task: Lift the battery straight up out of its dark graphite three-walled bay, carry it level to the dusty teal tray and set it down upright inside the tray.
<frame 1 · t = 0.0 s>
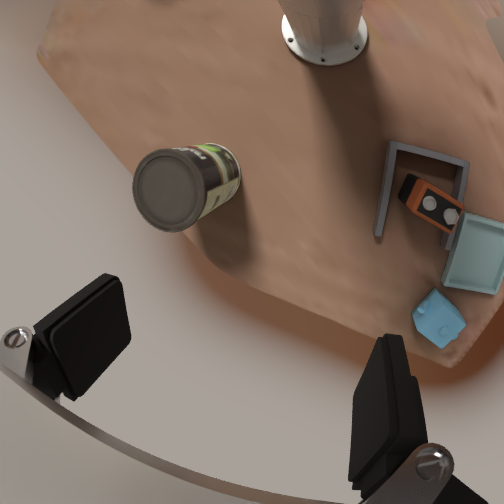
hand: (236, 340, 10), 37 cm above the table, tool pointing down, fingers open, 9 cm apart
coffee can: (210, 174, 46), on the table
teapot: (430, 304, 45), on the table
battery: (419, 194, 39), resting in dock
tray: (479, 252, 39), on the table
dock: (420, 194, 39), on the table
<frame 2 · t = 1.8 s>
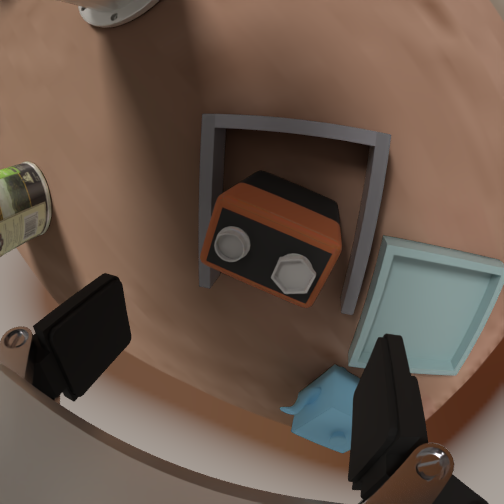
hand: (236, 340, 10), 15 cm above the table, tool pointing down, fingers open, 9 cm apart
coffee can: (31, 198, 30), on the table
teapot: (335, 382, 29), on the table
battery: (289, 208, 23), resting in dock
tray: (426, 310, 23), on the table
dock: (288, 209, 23), on the table
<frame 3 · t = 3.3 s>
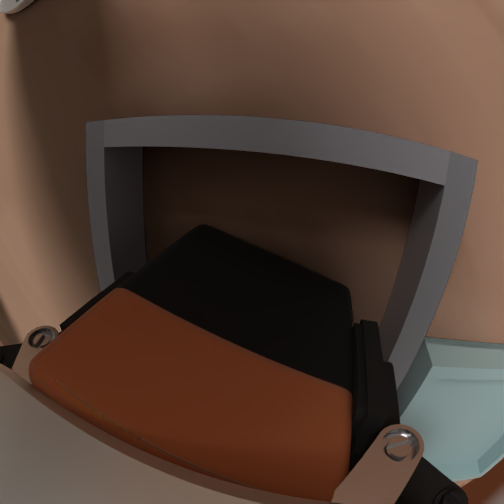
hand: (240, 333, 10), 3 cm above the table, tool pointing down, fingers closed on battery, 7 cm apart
battery: (260, 291, 13), resting in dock, touching gripper
tray: (462, 419, 13), on the table
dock: (258, 293, 13), on the table
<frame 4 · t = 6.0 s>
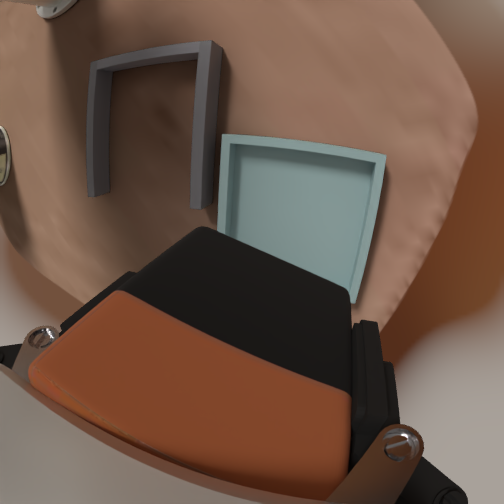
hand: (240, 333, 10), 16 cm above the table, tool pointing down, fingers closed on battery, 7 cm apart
battery: (259, 293, 13), point 13 cm above the table, touching gripper
tray: (296, 214, 24), on the table
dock: (152, 124, 25), on the table
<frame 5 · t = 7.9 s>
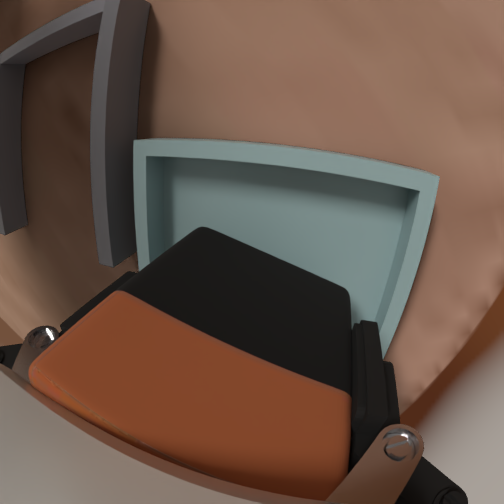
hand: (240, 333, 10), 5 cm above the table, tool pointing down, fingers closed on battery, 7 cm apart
battery: (259, 293, 13), point 2 cm above the table, touching gripper
tray: (270, 275, 14), on the table
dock: (60, 130, 15), on the table
when the fingers open (4 cm above the table, at t = 9.0 s): battery drops 1 cm, resting on tray.
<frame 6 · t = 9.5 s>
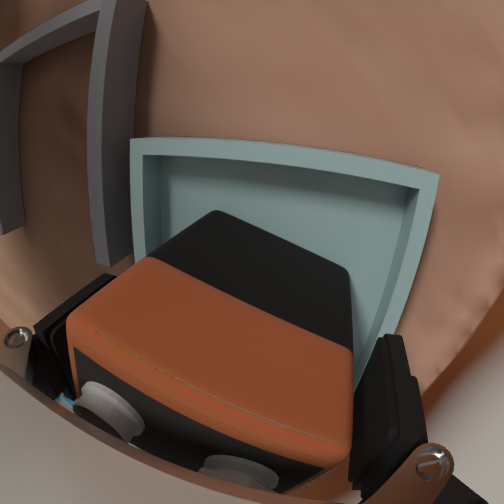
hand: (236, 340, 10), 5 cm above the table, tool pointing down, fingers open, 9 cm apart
battery: (266, 273, 14), resting on tray
tray: (268, 275, 14), on the table
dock: (57, 130, 14), on the table
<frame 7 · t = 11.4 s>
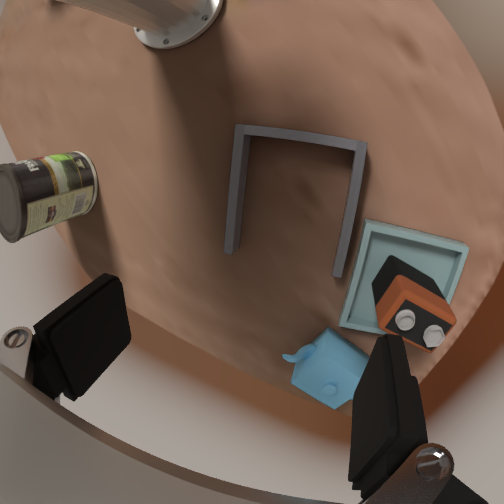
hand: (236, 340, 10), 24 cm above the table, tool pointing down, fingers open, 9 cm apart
coffee can: (77, 183, 39), on the table
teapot: (328, 346, 36), on the table
battery: (402, 280, 30), resting on tray
tray: (402, 281, 31), on the table
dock: (294, 196, 31), on the table
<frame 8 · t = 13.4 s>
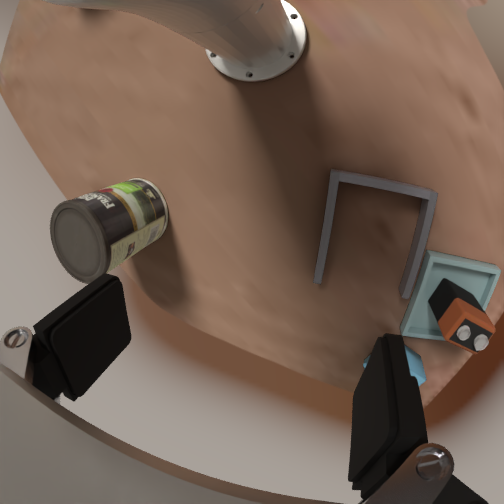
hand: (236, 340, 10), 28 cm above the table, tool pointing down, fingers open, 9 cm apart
coffee can: (140, 211, 43), on the table
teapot: (388, 351, 41), on the table
battery: (450, 296, 34), resting on tray
tray: (449, 297, 35), on the table
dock: (373, 233, 35), on the table
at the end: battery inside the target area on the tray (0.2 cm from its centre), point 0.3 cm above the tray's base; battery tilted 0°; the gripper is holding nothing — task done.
